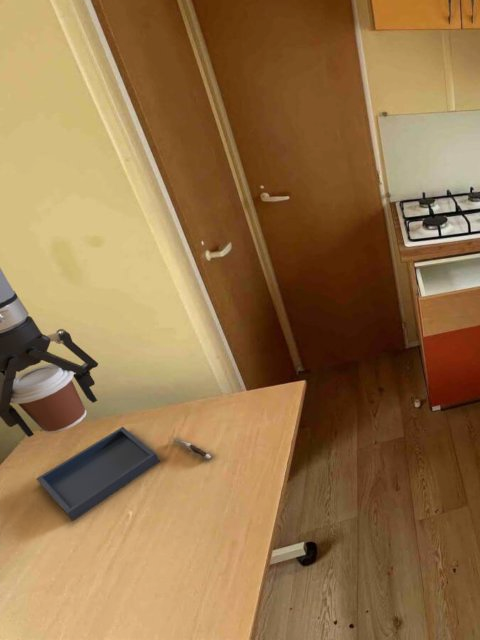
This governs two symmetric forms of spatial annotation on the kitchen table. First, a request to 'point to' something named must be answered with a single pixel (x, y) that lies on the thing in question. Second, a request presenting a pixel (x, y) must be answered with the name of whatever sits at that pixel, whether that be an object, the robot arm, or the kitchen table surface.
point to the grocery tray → (97, 472)
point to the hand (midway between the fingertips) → (61, 415)
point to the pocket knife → (194, 449)
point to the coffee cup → (49, 397)
